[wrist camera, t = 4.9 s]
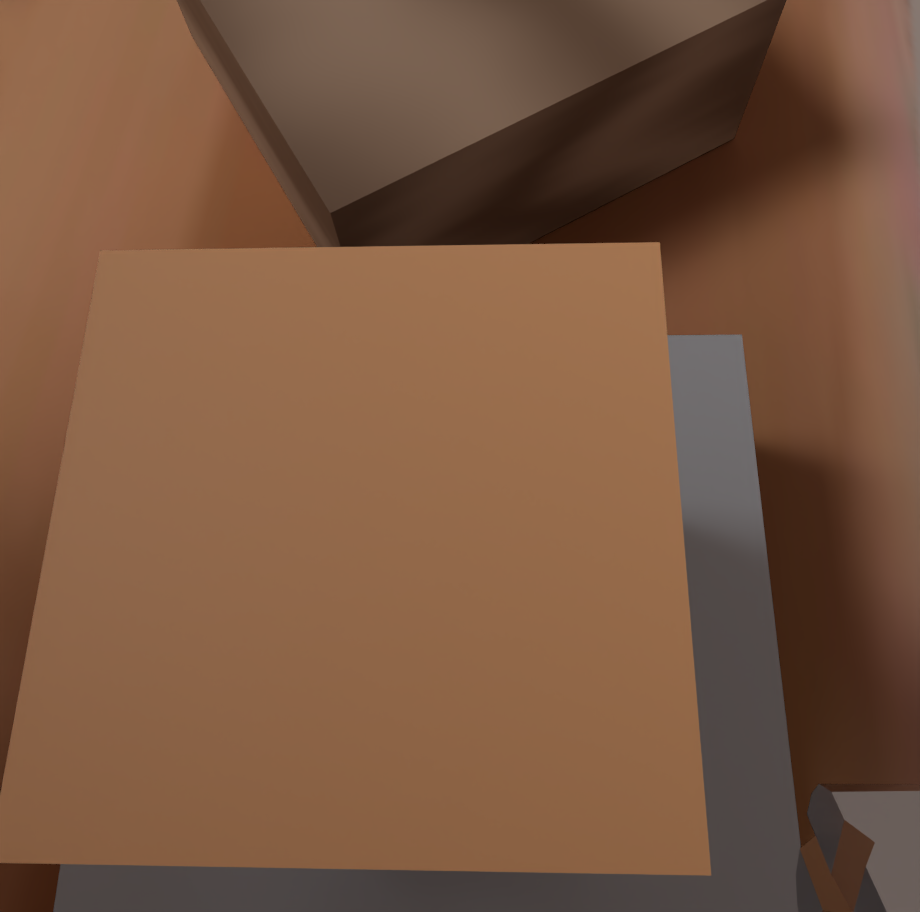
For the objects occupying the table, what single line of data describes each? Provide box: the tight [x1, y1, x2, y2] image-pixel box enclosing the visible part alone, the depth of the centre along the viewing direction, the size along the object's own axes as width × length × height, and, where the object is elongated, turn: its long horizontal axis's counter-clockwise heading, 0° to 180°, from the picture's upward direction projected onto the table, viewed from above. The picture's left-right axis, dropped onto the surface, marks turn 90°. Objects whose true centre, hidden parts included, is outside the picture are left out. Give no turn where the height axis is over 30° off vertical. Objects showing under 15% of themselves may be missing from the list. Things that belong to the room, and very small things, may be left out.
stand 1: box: [177, 0, 786, 247], centre depth 23 cm, size 12×12×5 cm
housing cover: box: [0, 242, 711, 876], centre depth 9 cm, size 6×6×4 cm
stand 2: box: [53, 335, 801, 912], centre depth 17 cm, size 12×12×5 cm
